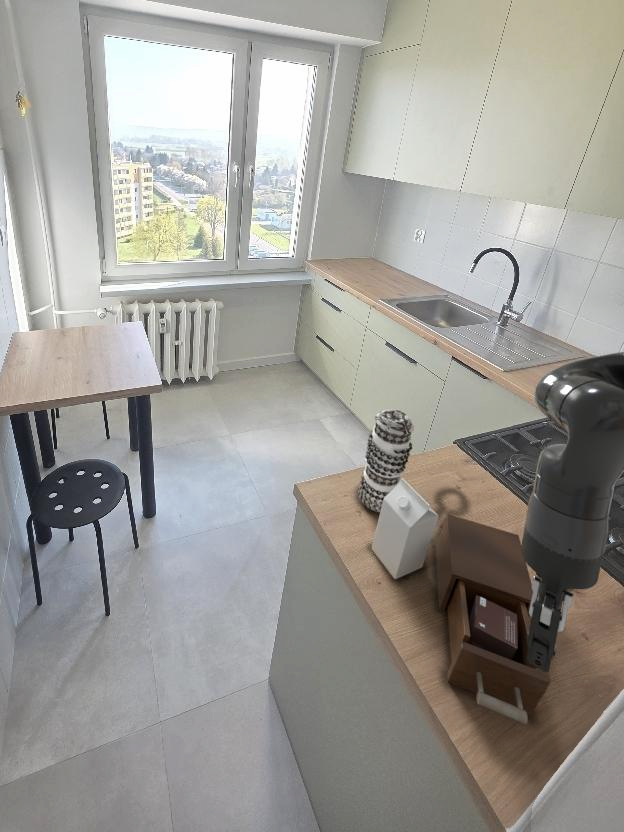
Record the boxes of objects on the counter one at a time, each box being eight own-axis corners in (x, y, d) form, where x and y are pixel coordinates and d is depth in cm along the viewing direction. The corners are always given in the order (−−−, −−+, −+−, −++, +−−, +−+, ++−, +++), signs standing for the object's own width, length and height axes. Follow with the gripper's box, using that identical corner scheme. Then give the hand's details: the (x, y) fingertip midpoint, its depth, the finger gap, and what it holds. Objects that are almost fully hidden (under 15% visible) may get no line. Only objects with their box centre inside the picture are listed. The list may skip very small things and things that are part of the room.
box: (503, 677, 65) (518, 649, 63) (461, 653, 68) (473, 626, 65) (504, 641, 70) (518, 614, 67) (465, 620, 73) (476, 593, 70)
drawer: (537, 751, 58) (559, 718, 55) (449, 712, 62) (464, 679, 58) (513, 631, 73) (529, 599, 69) (442, 606, 76) (454, 574, 73)
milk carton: (397, 540, 90) (415, 473, 82) (421, 569, 84) (444, 500, 76) (370, 551, 87) (387, 482, 79) (394, 582, 81) (414, 511, 73)
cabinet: (516, 641, 72) (536, 602, 68) (438, 612, 76) (452, 573, 72) (502, 571, 84) (518, 535, 80) (434, 549, 88) (447, 513, 84)
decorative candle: (395, 492, 102) (417, 408, 92) (396, 523, 94) (420, 434, 83) (357, 482, 104) (374, 399, 94) (354, 511, 96) (373, 424, 86)
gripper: (600, 589, 42) (574, 709, 46) (608, 516, 52) (586, 619, 56) (513, 551, 47) (496, 662, 51) (536, 491, 57) (520, 587, 61)
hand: (543, 639), depth 53 cm, fingers open, 8 cm apart
